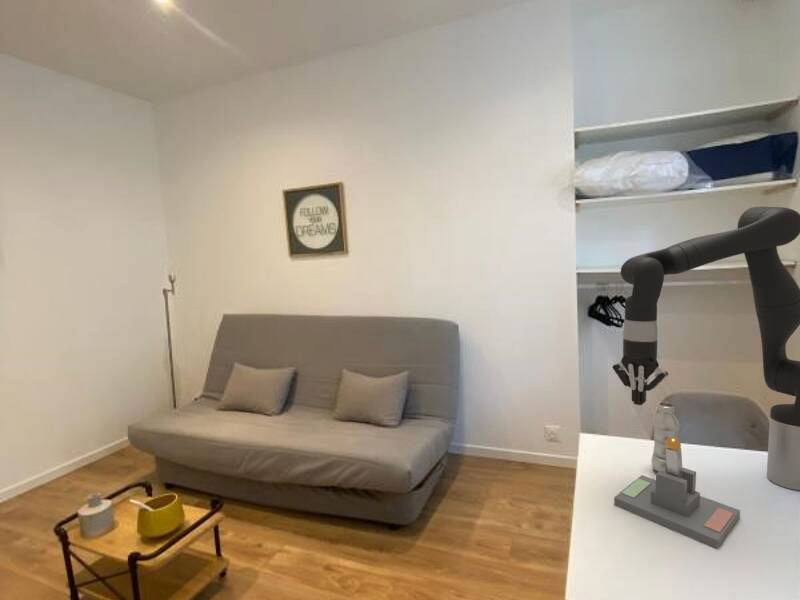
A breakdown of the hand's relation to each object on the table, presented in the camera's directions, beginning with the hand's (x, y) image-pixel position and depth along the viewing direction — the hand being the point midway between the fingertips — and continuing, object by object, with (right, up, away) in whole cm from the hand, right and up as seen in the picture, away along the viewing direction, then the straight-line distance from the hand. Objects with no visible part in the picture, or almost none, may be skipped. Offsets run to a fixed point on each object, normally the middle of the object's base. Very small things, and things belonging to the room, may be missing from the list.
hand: (638, 403), depth 111 cm
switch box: (+7, -25, -4) cm, 27 cm away
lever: (+6, -20, -5) cm, 21 cm away
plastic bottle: (+15, -23, +14) cm, 31 cm away
